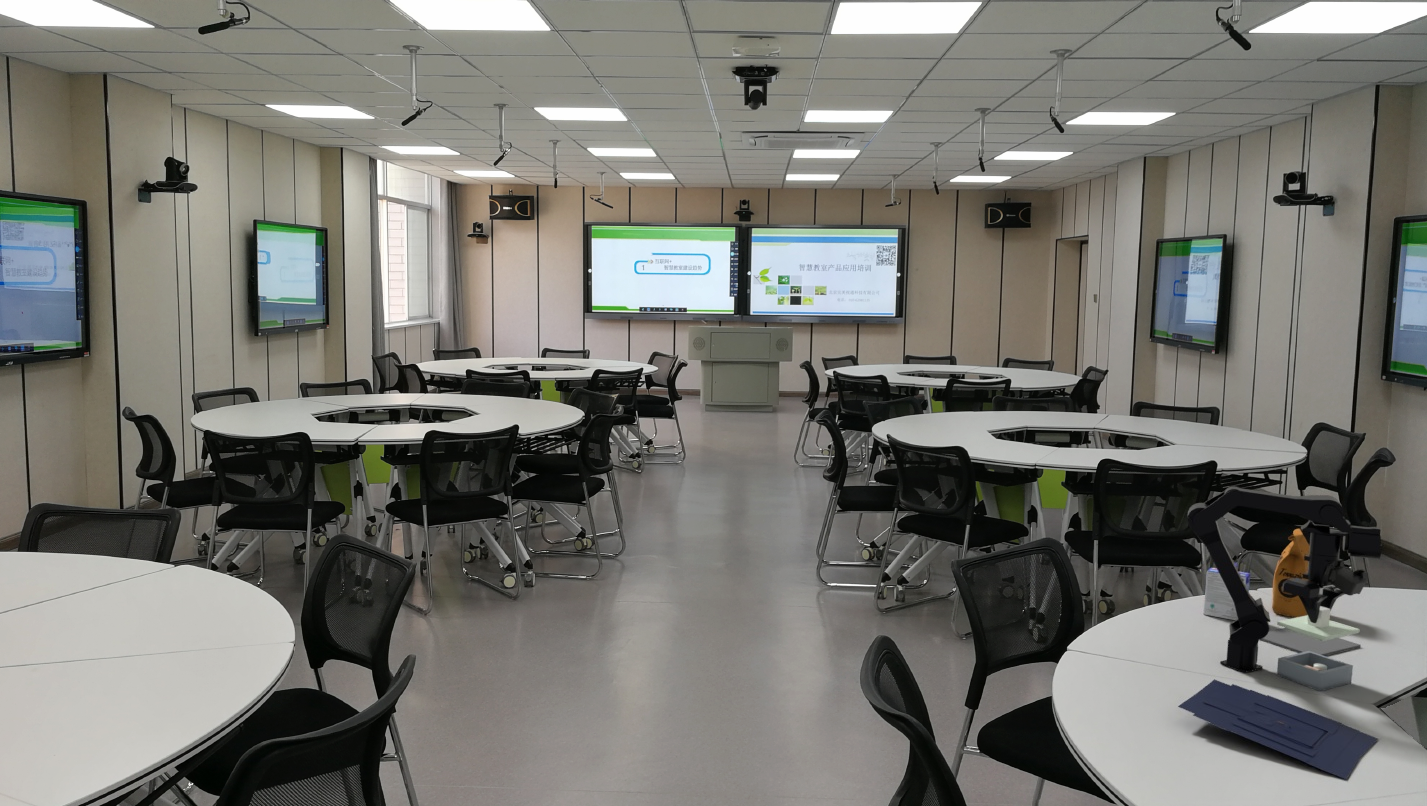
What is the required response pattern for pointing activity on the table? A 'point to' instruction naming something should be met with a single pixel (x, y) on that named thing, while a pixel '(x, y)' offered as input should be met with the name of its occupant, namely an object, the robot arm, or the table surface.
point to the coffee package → (1290, 576)
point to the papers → (1281, 726)
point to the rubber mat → (1307, 643)
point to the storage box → (1314, 670)
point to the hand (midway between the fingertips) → (1318, 621)
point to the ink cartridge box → (1220, 595)
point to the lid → (1318, 626)
